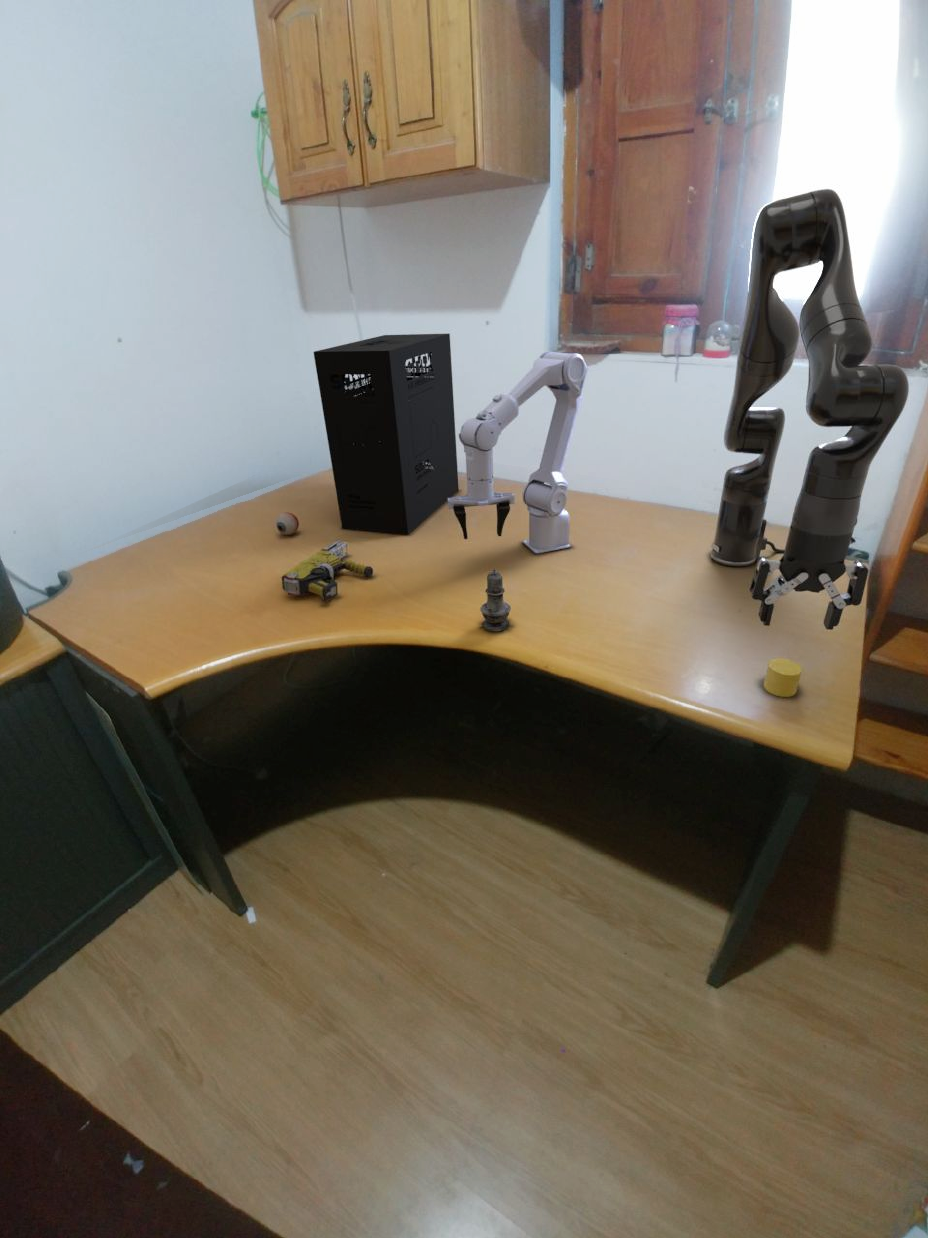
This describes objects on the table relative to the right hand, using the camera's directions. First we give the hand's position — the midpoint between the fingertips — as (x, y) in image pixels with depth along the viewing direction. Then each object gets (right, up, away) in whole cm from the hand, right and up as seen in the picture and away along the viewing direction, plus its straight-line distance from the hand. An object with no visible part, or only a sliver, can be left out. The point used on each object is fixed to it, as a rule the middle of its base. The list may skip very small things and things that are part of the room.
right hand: (795, 625), depth 90 cm
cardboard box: (-67, +34, +89) cm, 116 cm away
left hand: (-46, +20, +46) cm, 68 cm away
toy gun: (-79, +10, +49) cm, 93 cm away
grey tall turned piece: (-43, 0, +27) cm, 51 cm away
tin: (+1, -10, +6) cm, 12 cm away
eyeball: (-98, +24, +75) cm, 125 cm away
